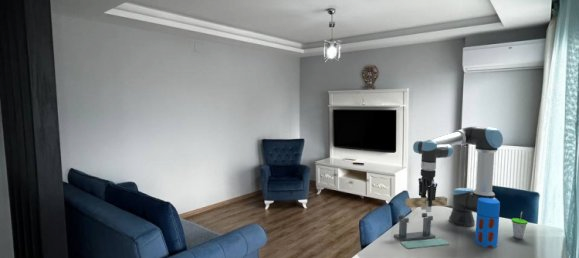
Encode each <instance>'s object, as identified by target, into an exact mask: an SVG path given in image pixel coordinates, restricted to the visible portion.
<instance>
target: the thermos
mask: <svg viewBox="0 0 579 258" xmlns="http://www.w3.org/2000/svg"><path fill="white" fill-rule="evenodd" d="M500 210H501V202H500V201H499V200H498V199H497V200H495V199H490V198H478V202H477V212H476V220H475V243H476V244H477V245H479V246H480V247H481V246H482V247H484V248H496V247H497V246H498V241H499V225H500V224H499V223H500Z"/></svg>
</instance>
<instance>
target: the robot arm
mask: <svg viewBox="0 0 579 258" xmlns="http://www.w3.org/2000/svg"><path fill="white" fill-rule="evenodd" d="M503 142H504V137H503V134H502V131H500V130H499V129H498V128H494V127H485V126H467V127H463V128H460V129H457V130H454V131H453V132H451V133H449V134H445V135H442V136H439V137H435V138H431V139H427V140H423V141H422V140H417V141H415V142H414V143H413V145H412V150H413V152H415V153H417V154H419V155H421V163H420V168H421V169H420V176H421V177H419V178H418V195H419V197H420V198H425V197H428V200H427V201H426V207H420V210H422V211H423V210H425V213H431V212H432V207H433V206H432V201H435V197H437V194H436V193H437V187H438V183H436V182H435V179H434V178H435V177H436V169H437V159H442V158H445V159H446V158H449V157H451V156H452V155H453V153H454V148H453V147H452V146H456V145H459V146H461V145H473V146H475V150H476V151H477V162H476V164H477V166H476V179H475V180H476V183H475V184H476V185H475V189H473V188H469V187H458V188H454V189H453V193H452V208H451V209H452V210H451V212H450V215H449V217H448V221H449V223H451V224H453V225H456V226H459V227H465V228H467V227H468V228H469V227H474V226H476V220H475V219H474V214H473V212H474V213H477V202H478V198H490V199H495V200H498V198H496V197H495V196H496V194H495V192H493V180H494V164H495V162H494V161H495V153H496V152H497V151H498V149H499V148H500V147H502V145H503Z"/></svg>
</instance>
